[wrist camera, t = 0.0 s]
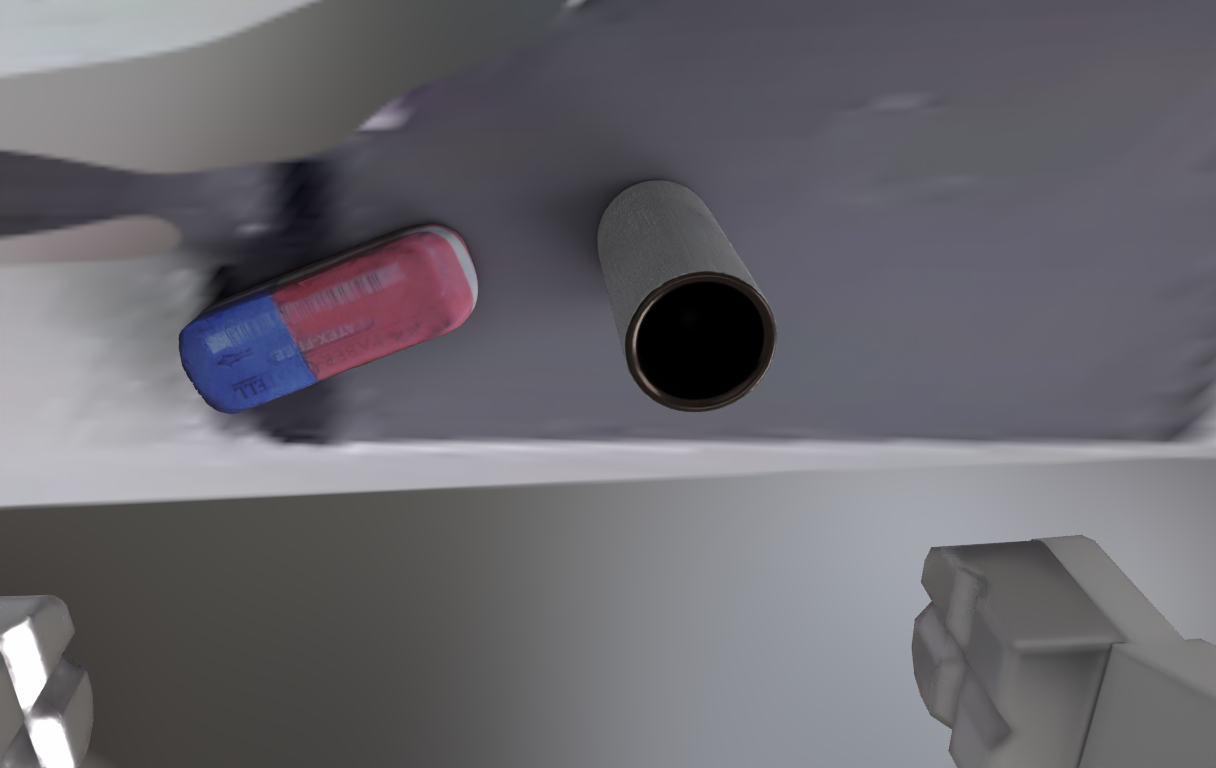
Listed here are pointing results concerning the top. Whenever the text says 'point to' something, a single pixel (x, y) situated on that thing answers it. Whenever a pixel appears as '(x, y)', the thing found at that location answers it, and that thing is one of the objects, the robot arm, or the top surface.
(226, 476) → the top surface
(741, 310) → the planter
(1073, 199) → the top surface
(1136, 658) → the robot arm
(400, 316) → the eraser
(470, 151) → the top surface
